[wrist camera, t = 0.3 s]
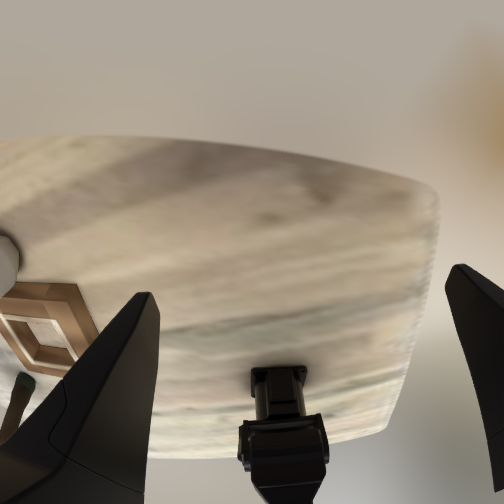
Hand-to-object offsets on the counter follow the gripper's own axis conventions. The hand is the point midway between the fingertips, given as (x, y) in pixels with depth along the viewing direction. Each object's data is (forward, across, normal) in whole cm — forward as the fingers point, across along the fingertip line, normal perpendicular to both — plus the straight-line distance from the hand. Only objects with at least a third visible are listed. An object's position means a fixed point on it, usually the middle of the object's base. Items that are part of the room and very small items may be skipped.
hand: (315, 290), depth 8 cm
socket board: (+13, +26, +18) cm, 35 cm away
